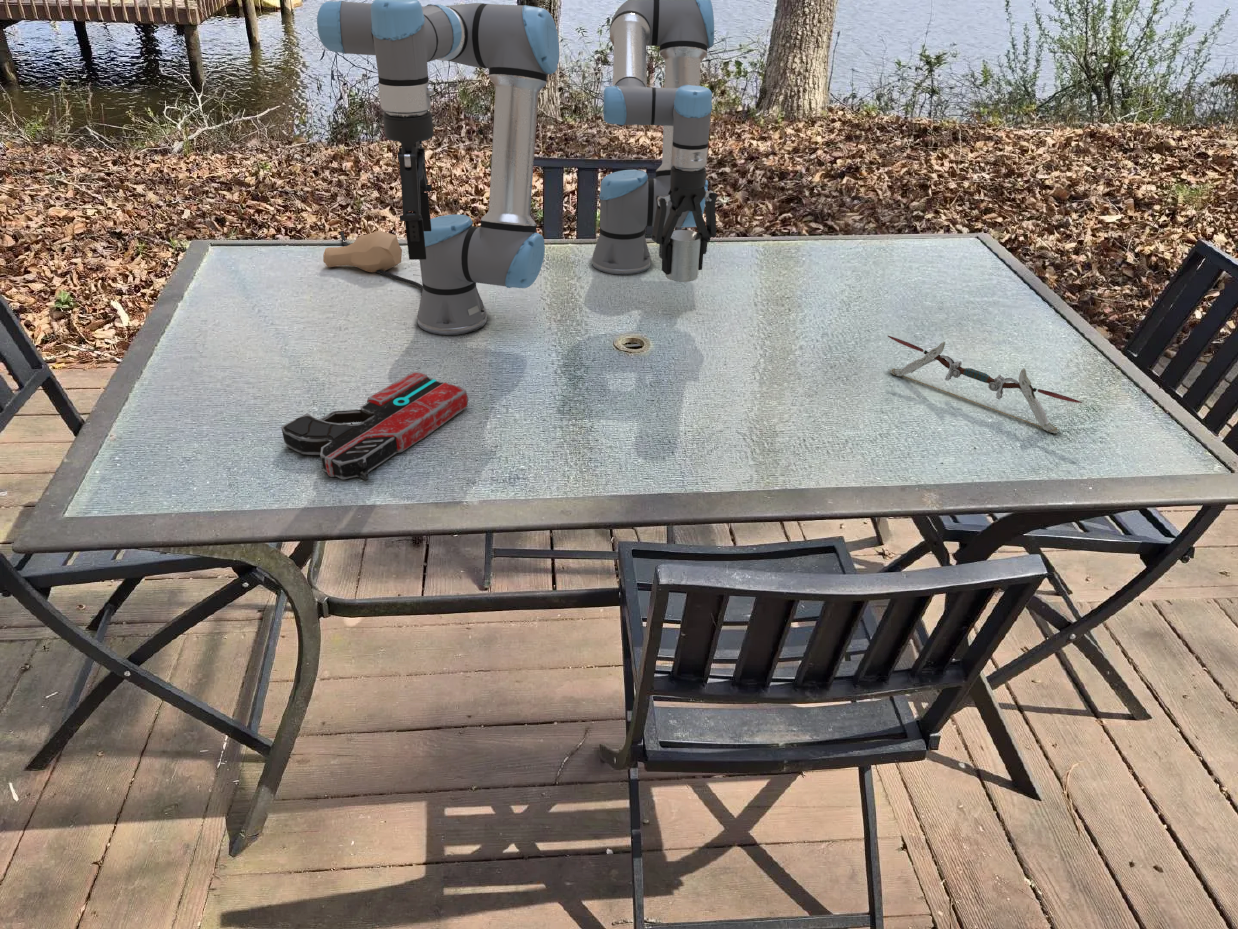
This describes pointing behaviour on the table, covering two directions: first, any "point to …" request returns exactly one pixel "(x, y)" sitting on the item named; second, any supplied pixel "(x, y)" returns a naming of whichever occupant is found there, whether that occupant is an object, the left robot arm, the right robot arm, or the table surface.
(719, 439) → the table surface
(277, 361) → the table surface
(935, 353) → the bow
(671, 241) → the tin
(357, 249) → the squash
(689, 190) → the right robot arm
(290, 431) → the gun
